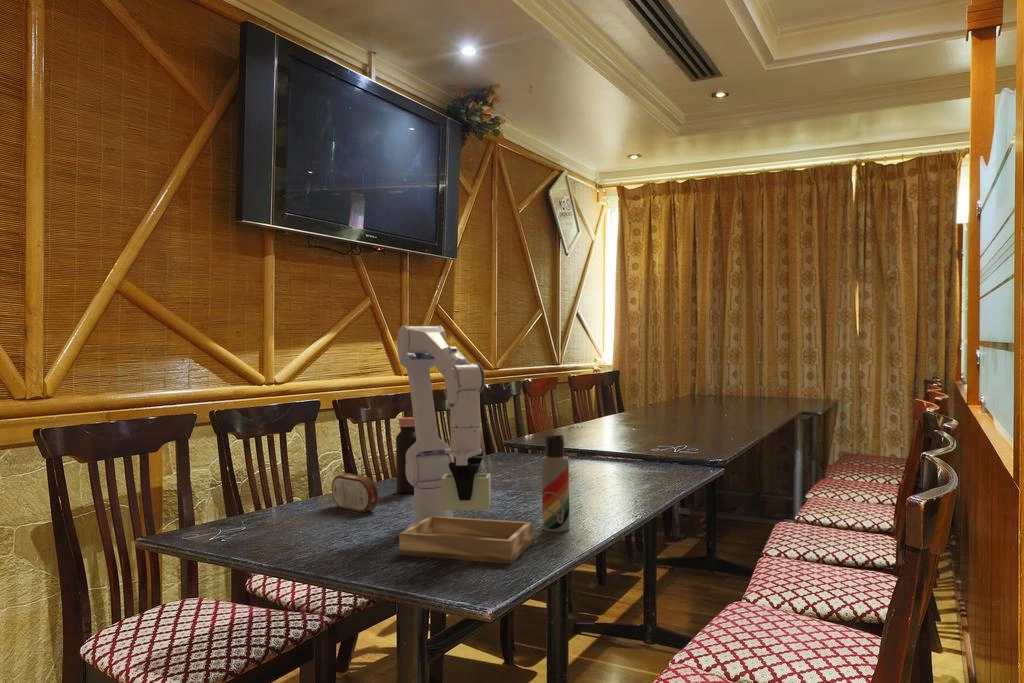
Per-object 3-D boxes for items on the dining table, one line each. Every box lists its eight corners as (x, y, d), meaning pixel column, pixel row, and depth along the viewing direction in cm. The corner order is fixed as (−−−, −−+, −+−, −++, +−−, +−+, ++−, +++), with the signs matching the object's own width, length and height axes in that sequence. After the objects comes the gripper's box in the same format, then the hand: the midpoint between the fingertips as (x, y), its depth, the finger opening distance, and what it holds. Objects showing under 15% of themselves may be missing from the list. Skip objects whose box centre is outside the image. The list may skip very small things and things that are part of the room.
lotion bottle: (550, 533, 143) (548, 436, 143) (538, 527, 148) (536, 433, 149) (574, 530, 145) (572, 434, 146) (561, 524, 151) (560, 432, 151)
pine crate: (430, 535, 144) (430, 515, 144) (532, 542, 137) (532, 522, 137) (399, 554, 130) (399, 533, 130) (511, 563, 124) (510, 541, 124)
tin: (379, 512, 165) (378, 477, 165) (368, 515, 162) (368, 479, 162) (340, 504, 174) (339, 471, 174) (329, 507, 172) (329, 473, 172)
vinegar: (419, 488, 192) (418, 416, 193) (424, 493, 186) (422, 418, 186) (394, 490, 190) (393, 417, 190) (398, 495, 184) (397, 419, 184)
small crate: (445, 504, 136) (444, 473, 136) (491, 504, 136) (490, 473, 136) (441, 510, 132) (441, 478, 132) (489, 509, 131) (488, 478, 131)
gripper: (450, 422, 141) (451, 489, 141) (439, 431, 127) (440, 505, 127) (484, 422, 141) (485, 489, 141) (477, 430, 126) (478, 505, 126)
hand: (466, 497), depth 134 cm, fingers closed on small crate, 5 cm apart
